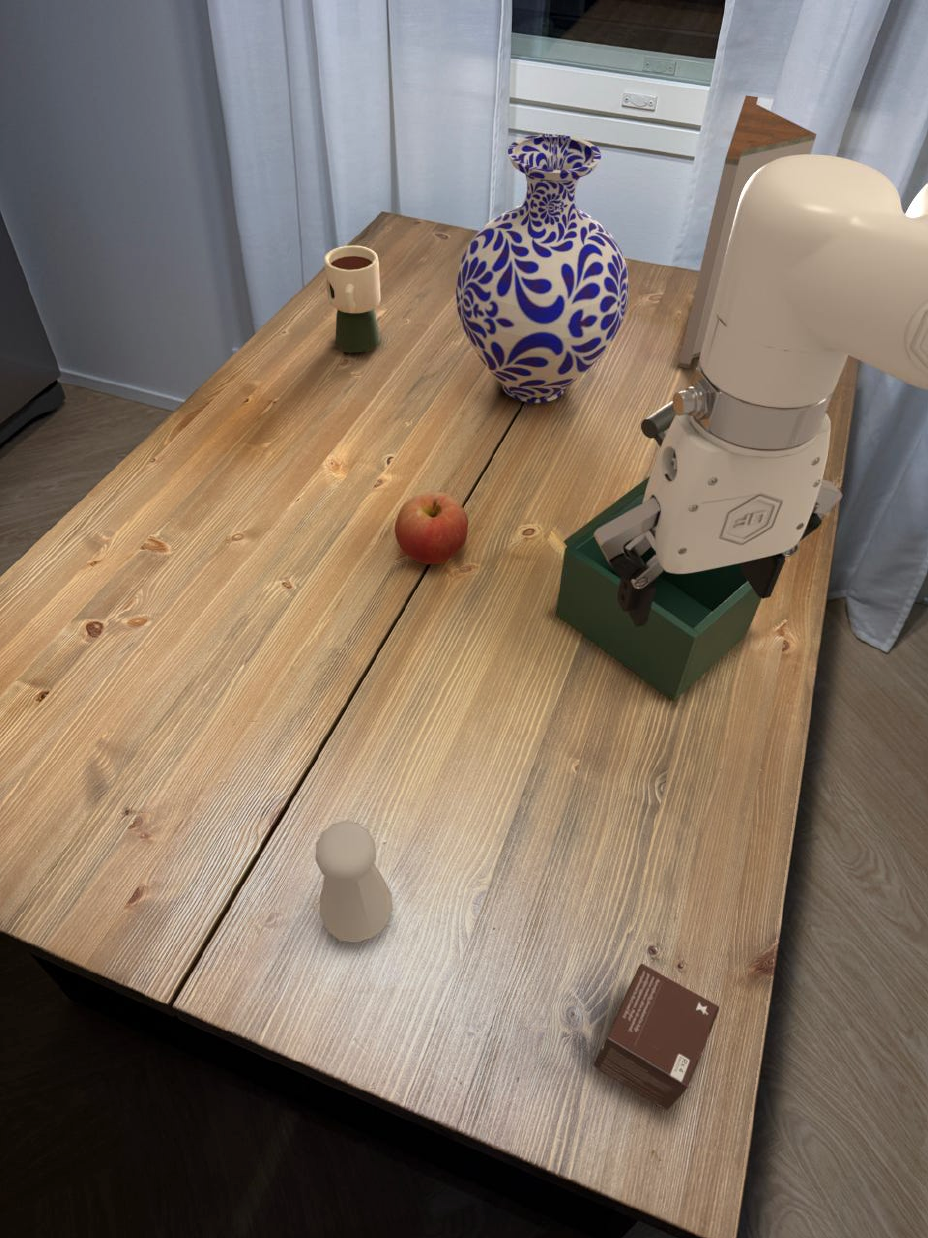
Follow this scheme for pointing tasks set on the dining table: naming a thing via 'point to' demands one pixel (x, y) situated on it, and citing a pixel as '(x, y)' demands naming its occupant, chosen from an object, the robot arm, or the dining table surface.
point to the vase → (543, 277)
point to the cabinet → (737, 202)
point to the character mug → (354, 296)
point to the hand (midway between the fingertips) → (694, 597)
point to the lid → (650, 429)
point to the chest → (657, 614)
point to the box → (657, 1037)
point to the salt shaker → (351, 883)
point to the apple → (431, 527)
